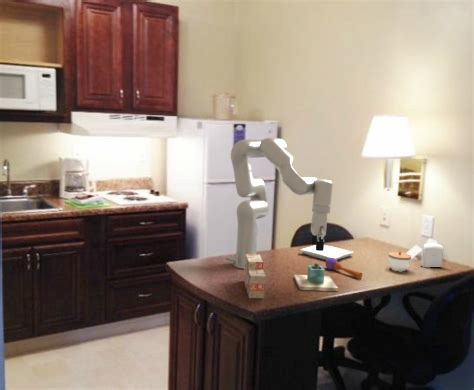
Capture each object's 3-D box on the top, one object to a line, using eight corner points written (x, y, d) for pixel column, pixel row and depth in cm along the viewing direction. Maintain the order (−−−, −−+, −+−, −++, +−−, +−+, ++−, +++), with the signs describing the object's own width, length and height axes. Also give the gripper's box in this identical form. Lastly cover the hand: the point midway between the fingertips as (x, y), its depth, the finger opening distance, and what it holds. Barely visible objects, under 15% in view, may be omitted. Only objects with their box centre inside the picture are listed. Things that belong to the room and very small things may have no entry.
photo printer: (422, 267, 254) (425, 244, 252) (419, 265, 258) (422, 242, 256) (442, 268, 253) (445, 245, 252) (439, 266, 258) (442, 243, 256)
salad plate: (354, 257, 267) (354, 251, 267) (334, 264, 251) (334, 257, 251) (320, 249, 281) (320, 243, 280) (299, 255, 265) (299, 249, 264)
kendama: (356, 272, 226) (322, 258, 241) (355, 284, 227) (322, 269, 242) (364, 268, 229) (331, 254, 244) (363, 279, 231) (331, 265, 246)
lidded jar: (382, 266, 251) (384, 248, 249) (402, 266, 253) (404, 248, 252) (393, 273, 240) (395, 254, 239) (413, 273, 243) (415, 254, 241)
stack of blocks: (264, 298, 196) (266, 268, 194) (248, 298, 195) (250, 268, 194) (258, 281, 217) (259, 253, 215) (243, 280, 216) (245, 253, 215)
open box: (309, 282, 214) (310, 269, 213) (307, 278, 220) (308, 265, 219) (323, 283, 214) (324, 270, 213) (320, 279, 220) (321, 265, 219)
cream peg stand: (299, 289, 209) (301, 267, 207) (293, 277, 224) (295, 257, 223) (337, 291, 209) (339, 269, 208) (329, 279, 225) (330, 258, 224)
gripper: (308, 204, 220) (305, 241, 223) (316, 211, 203) (312, 252, 206) (325, 205, 221) (321, 242, 224) (334, 213, 204) (330, 253, 206)
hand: (317, 247), depth 215 cm, fingers open, 9 cm apart
